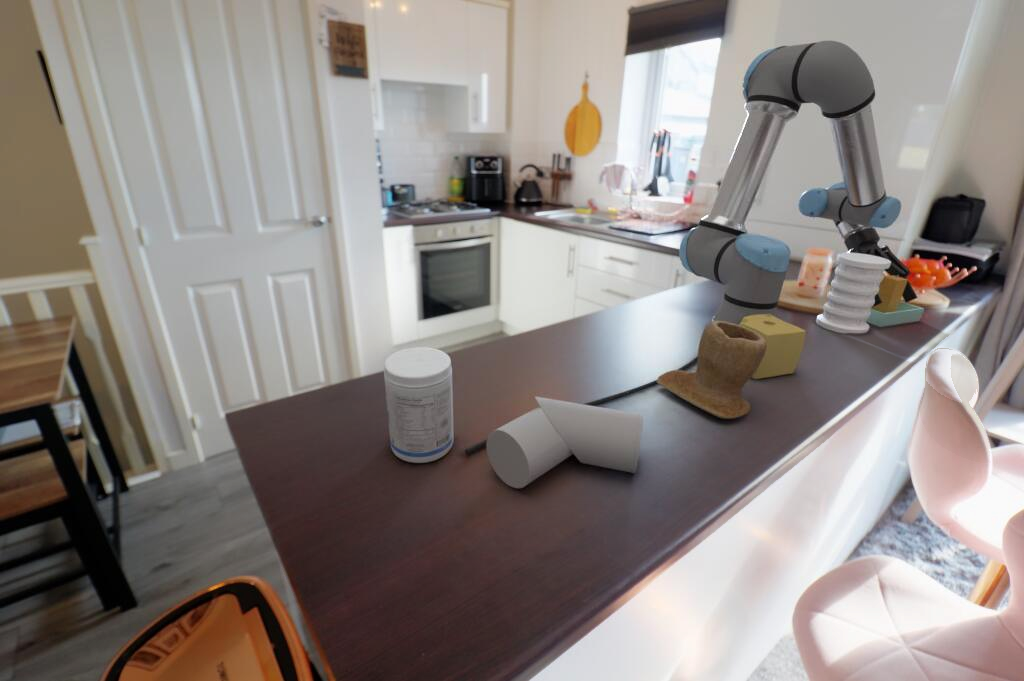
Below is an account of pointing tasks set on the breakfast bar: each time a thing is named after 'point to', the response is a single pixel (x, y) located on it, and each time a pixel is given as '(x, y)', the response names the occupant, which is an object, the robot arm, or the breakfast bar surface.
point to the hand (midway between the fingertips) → (894, 302)
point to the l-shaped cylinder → (564, 440)
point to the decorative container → (852, 292)
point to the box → (896, 315)
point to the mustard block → (890, 293)
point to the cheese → (776, 344)
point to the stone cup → (719, 370)
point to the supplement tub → (419, 403)
